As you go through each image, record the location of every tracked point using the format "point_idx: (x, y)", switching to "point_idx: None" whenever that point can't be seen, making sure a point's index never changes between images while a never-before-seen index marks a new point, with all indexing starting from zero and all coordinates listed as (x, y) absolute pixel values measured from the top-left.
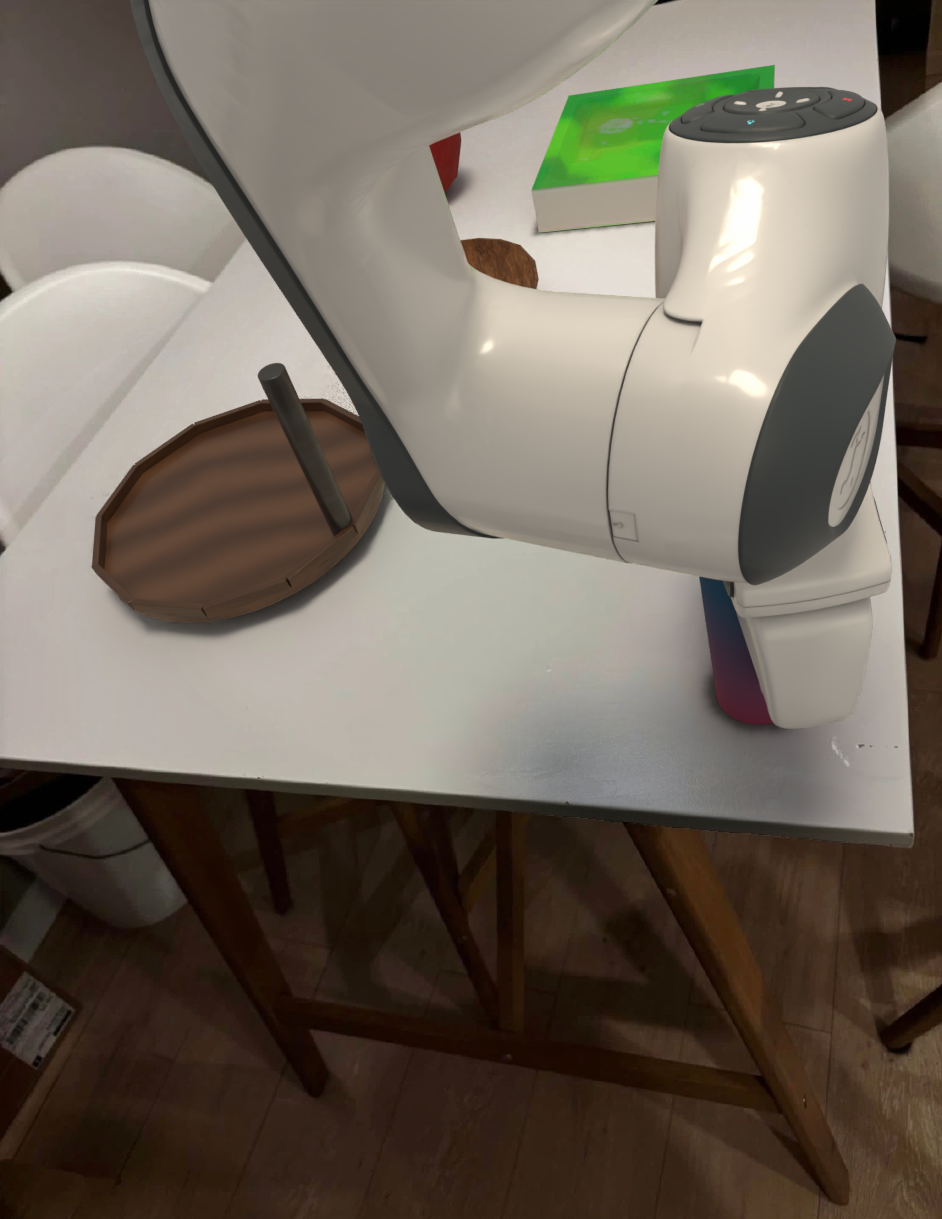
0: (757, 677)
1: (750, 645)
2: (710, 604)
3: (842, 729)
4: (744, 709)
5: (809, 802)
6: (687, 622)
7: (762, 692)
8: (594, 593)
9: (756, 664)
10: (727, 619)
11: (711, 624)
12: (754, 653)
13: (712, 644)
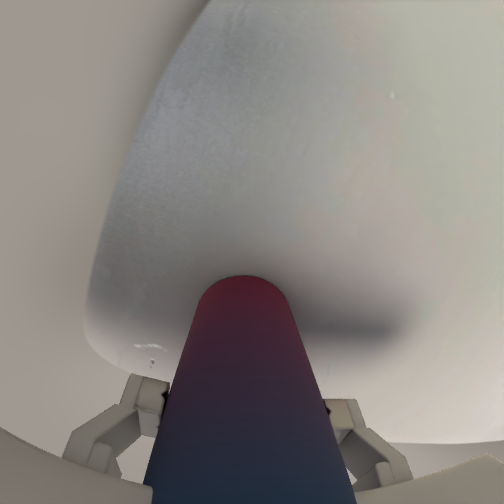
0: (154, 383)
1: (40, 494)
2: (218, 486)
3: (172, 359)
4: (201, 307)
5: (103, 302)
6: (372, 286)
7: (130, 375)
8: (461, 205)
9: (2, 473)
10: (170, 480)
11: (226, 421)
12: (13, 489)
13: (237, 366)
